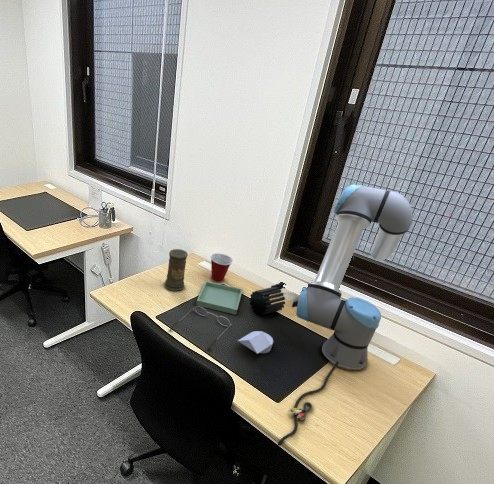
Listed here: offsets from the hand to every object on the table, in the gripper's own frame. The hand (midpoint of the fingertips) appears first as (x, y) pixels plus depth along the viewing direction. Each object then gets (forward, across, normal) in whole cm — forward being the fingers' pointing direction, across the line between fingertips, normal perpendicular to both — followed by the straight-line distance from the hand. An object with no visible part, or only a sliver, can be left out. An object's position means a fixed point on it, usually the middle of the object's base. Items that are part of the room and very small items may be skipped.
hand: (281, 296), depth 167 cm
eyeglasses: (+42, -2, -6) cm, 42 cm away
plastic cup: (+12, +30, -6) cm, 33 cm away
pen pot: (+8, 0, -6) cm, 10 cm away
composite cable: (+35, -50, -6) cm, 61 cm away
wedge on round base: (+28, -18, -6) cm, 34 cm away
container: (+36, +32, -6) cm, 48 cm away
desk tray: (+21, +15, -6) cm, 27 cm away
